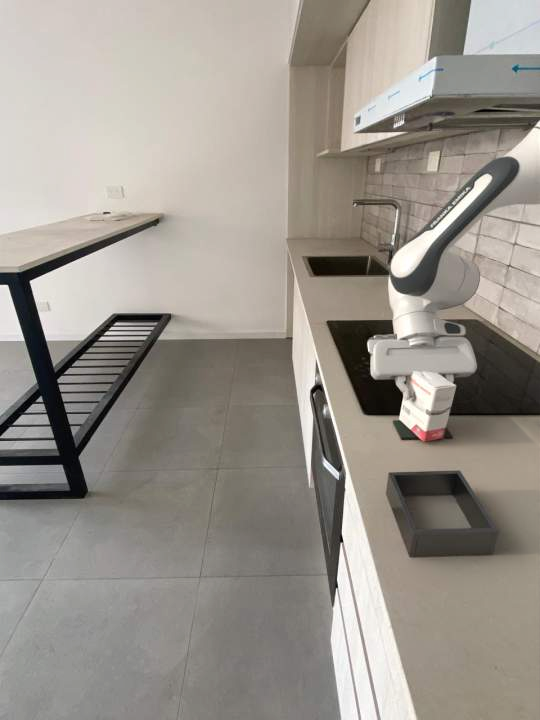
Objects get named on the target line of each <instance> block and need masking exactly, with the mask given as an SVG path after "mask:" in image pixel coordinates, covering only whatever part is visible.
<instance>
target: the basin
mask: <svg viewBox="0 0 540 720" xmlns="http://www.w3.org/2000/svg"><path fill="white" fill-rule="evenodd" d="M385 495H386V498H387V500H388V503H389V506H390V509H391V512H392V514H393V517H394V519H395V522H396V524H397V528H398V530H399V533H400V535H401V538H402V541H403V543H404V546H405V550H406V553H407V555H408V557H409V558H425V557H426V558H427V557H461V556H462V557H463V556H466V557H467V556H493V555H494V551H495V548H496V544H497V541H498V538H499V535H500V530H499V528H498V527H497V525H496V524H495V522H494V521H493V519H492V518H491V516H490V514H489V513H488V512H487V510H486V508H485V506H484V505H483V504H482V502H481V501H480V499H479V498H478V496H477V495H476V493H475V491H474V489H473V488H472V487H471V485H470V483H469V482H468V481H467V479H466V478H465V476H464V474H463V473H462V471H461V470H459V469H458V470H457V469H456V470H428V471H425V470H423V471H394V472H392V471H391V472H390V471H389V472H388V473H387V482H386V489H385ZM417 496H418V497H419V496H420V497H421V496H453V498H454V500H455V501H456V503H457V504H458V507H459V508H460V510H461V511H462V514H463V515H464V517H465V519H466V520H467V522H468V524H469V526H470V527H466V528H465V527H463V528H462V527H461V528H431V529H430V528H428V529H424V528H423V529H417V527H416V524H415V522H414V520H413V517H412V515H411V513H410V510H409V508H408V506H407V503H406V500H405V498H404V497H417Z"/></svg>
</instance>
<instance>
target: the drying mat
mask: <svg viewBox="0 0 540 720" xmlns="http://www.w3.org/2000/svg"><path fill="white" fill-rule="evenodd" d="M392 424H393V426H394V428H395V430H396V432H397V434H398V436H399V438H400V440H401V441H411V440H415V441H416V440H421V439H420V438H419V437H418V436H417V435H416V434H415V433H413V432H412V431H411V430H410V429H409V428H408V427H407V426H406V425H405V424H404V423H403V422H402V421H401V420H399V419H393V420H392ZM453 438H454V437H453V434H452V433H451V431H450V430H449V428H448V427H447V426H446V429H445V433H444V437H443V438H439V439H438V440H445V439H446V440H447V439H449V440H450V439H453Z"/></svg>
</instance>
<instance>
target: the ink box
mask: <svg viewBox="0 0 540 720" xmlns="http://www.w3.org/2000/svg"><path fill="white" fill-rule="evenodd" d="M405 385H406V386H407V388H408V389H409V390H413V395H414V399H413V400H407V401H404V398H403V397H402V401H401V407H400V412H399V418H398V420H401V421H402V422H403V423H404V424H405V425H406V426H407V427H408V428H409V429H410V430H411V431H412V432H413V433H415V434H416V435H417V436H418V437H419V438H420V439H419V440H421V441H422V442H424V443H426V442H428V441H435V440H440V439H439V438H443V437H444V433H445V429H446V427H447V424H448V421H449V417H450V413H451V410H452V405H453V401H454V397H455V393H456V389H457V385H456V384H455V383H454V382H453V383H452V382H450V381H449V380H447V379H446V378H444V377H443V376H441V375H440V374H438V373H434V372H426V371H413V374H412V375H407V379H406V381H405Z"/></svg>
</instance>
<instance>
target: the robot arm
mask: <svg viewBox="0 0 540 720" xmlns="http://www.w3.org/2000/svg"><path fill="white" fill-rule="evenodd" d="M514 205H515V206H516V205H531V206H532V205H540V120H538V122H537V123H536V124H535V125H534V127H533V128H532V129H531V130H530V131H529V132H528V133H527V135H526V136H525V137H523V139H522V140H521V141H520V142H519V143H518V144H517V145H515V146H514V147H513V148H512V149H511V150H510V151H508V152H507V153H505V154H504V155H502V156H501V157H497V158H494V159H492V160H491V161H489V162H488V163H487V164H485V165H484V166H482V167H481V168H480V169H479V170H478V171H477V172H476V173H475V174H474V175H473V176H472V177H471V178H470V179H469V180H468V181H467V182H465V184H464V185H463V186H462V187H461V188H460V189H459V190H458V191H457V192H456V193H455V194H454V195H453V196H452V197H451V198H450V199H449V200H448V201H447V202H446V203H445V204H444V206H442V208H441V209H440V210H438V211H437V213H435V215H434V216H433V217H432V218H431V219H430V220H429V221H428V222H427V223H426V224H425V225H424V226H422V228H421V229H420V230H419V231H418V232H417V233H415V234H414V235H413V236H412V237H410V238H408V240H407V241H405V242H404V243H403V244H401V245H400V246H399V247H398V248H397V250H396V251H395V252H394V253H393V255H392V257H391V259H390V263H389V268H388V269H389V270H388V280H387V281H388V282H387V291H388V301H389V306H390V310H391V312H392V328H393V334H392V333H391V334H375V335H373V336H371V337H369V338H368V339H367V342H366V347H367V351H368V353H369V355H370V360H369V361H370V363H369V365H370V368H369V369H370V376H371V377H372V378H373V379H374V380H376V381H381V380H383V381H384V380H394V382H395V385H396V387H397V388H398V389H399V390H400V392H401V393H402V399H403V398H404V401H407V400H413V399H414V395H413V390H409V389H408V388H407V386H406V380H407V375H412V374H413V371H426V372H434V373H438V374H440V375H441V376H443V377H444V378H446V379H447V380H449V381H450V382H452V383H453V384H454V381H455V378H469V377H470V376H472V375H474V374H475V373H476V371H477V369H478V363H477V359H476V355H475V352H474V349H473V348H474V347H473V345H472V344H471V342H470V340H469V339H467V338H466V337H464V336H465V335H466V333H467V332H466V331H467V330H466V329H467V328H466V327H465V326H464V325H462V324H460V323H456V322H452V321H448V320H445V319H441V318H438V312H439V311H442V310H443V311H444V310H448V309H452V308H455V307H458V306H461V305H463V304H466V303H467V302H468V301H469V300H470V299H472V298H473V297H474V295H475V294H476V293H477V291H478V288H479V286H480V282H481V273H480V269H479V267H478V265H477V264H476V263H475V262H473V261H472V260H469V259H467V258H465V257H464V256H461V255H460V254H457V253H455V252H454V253H453V252H452V251H450V249H451V248H452V247H453V246H455V245H456V244H457V243H458V242H459V241H460V240H461V239H462V238H463V237H464V236H465V235H466V234H467V233H468V232H469V231H470V230H471V229H472V228H473V227H474V226H476V224H477V223H478V222H479V221H481V219H482V218H484V217H485V216H486V215H488V214H489V213H491V212H493V211H495V210H497V209H501V208H503V207H507V206H514Z"/></svg>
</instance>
